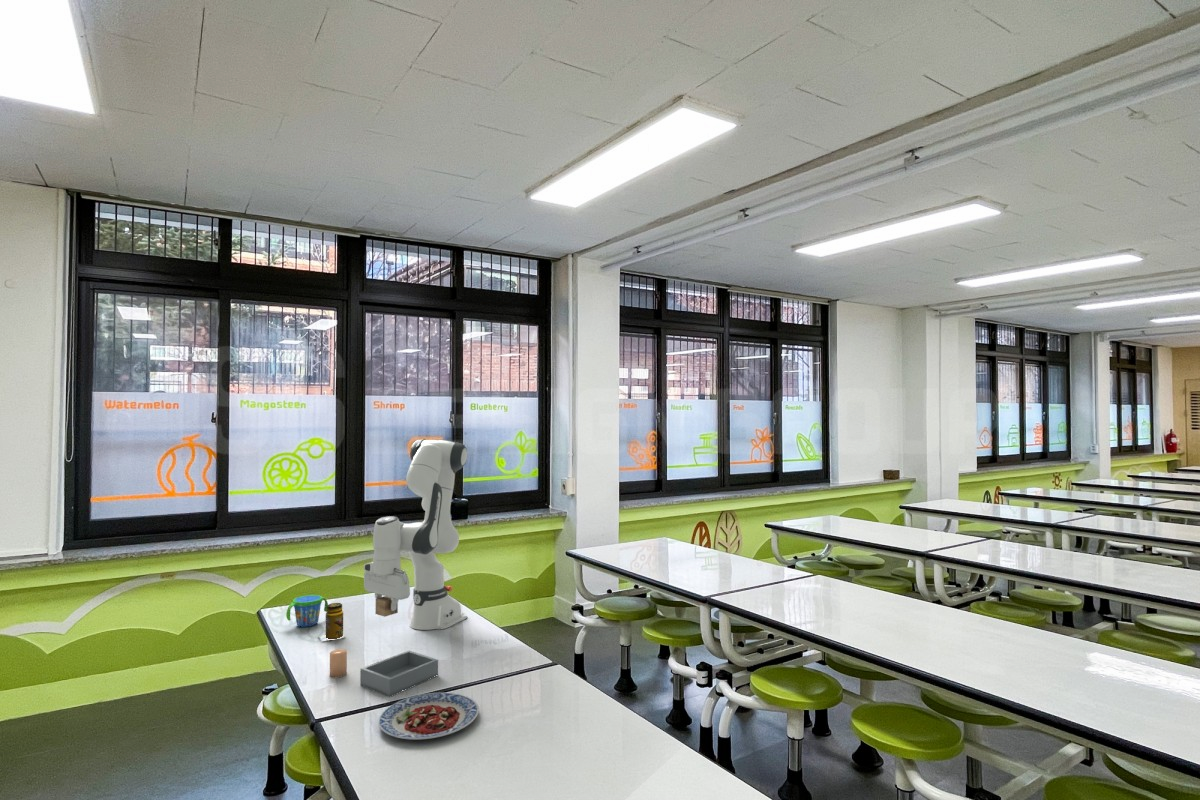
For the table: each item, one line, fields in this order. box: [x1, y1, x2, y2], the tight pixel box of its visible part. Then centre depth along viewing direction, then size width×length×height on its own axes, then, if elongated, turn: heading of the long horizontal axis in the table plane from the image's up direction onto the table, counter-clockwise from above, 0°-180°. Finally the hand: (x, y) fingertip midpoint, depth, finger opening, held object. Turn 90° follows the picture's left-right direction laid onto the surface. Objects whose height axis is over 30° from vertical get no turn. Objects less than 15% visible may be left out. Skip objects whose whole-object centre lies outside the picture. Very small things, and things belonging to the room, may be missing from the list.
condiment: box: [325, 602, 344, 639], centre depth 235 cm, size 7×8×12 cm
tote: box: [359, 650, 439, 698], centre depth 197 cm, size 18×14×5 cm
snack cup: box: [285, 594, 329, 628], centre depth 250 cm, size 16×10×10 cm
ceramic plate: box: [378, 692, 480, 740], centre depth 171 cm, size 26×26×3 cm
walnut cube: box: [375, 595, 399, 618], centre depth 213 cm, size 5×5×5 cm
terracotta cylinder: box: [329, 648, 348, 679], centre depth 202 cm, size 5×5×7 cm
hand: (386, 608), depth 213 cm, fingers closed on walnut cube, 5 cm apart
